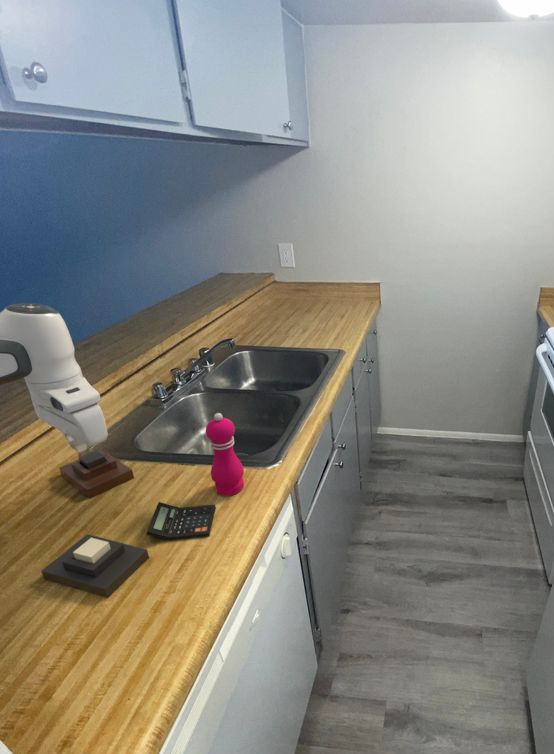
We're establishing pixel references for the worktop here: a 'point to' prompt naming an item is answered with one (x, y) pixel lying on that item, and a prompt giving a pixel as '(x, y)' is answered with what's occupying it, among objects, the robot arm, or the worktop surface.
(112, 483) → the key block
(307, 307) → the worktop surface
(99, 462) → the far key
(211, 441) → the pepper mill
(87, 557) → the near key
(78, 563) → the key block
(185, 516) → the calculator
